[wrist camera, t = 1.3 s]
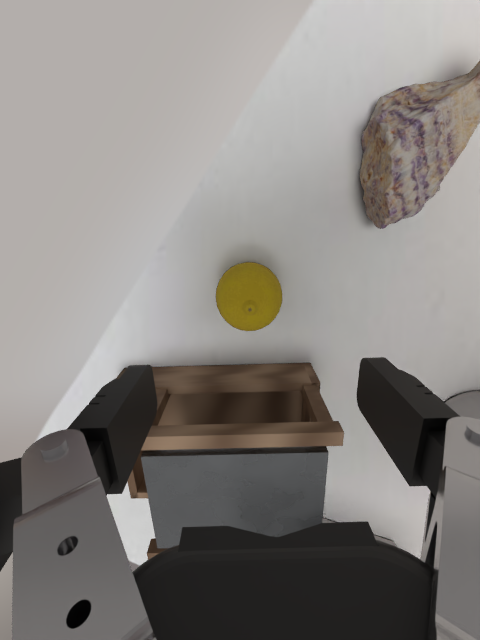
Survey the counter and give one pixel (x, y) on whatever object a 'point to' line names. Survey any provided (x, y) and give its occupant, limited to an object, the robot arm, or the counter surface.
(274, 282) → the lemon
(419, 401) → the robot arm
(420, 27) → the counter surface
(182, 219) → the counter surface
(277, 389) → the stand
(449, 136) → the mineral specimen
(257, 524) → the trapdoor
